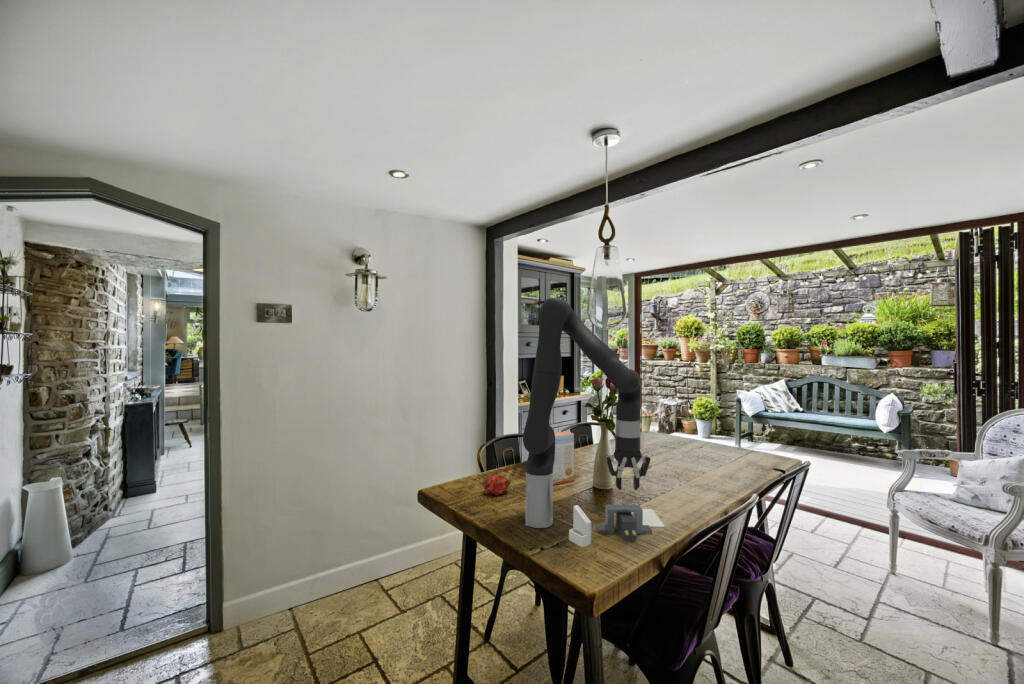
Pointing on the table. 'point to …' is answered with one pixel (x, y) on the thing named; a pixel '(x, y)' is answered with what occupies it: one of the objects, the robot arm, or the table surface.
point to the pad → (651, 519)
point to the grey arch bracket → (623, 508)
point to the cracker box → (563, 458)
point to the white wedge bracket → (580, 528)
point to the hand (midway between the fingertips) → (627, 488)
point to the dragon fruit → (496, 484)
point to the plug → (626, 526)
